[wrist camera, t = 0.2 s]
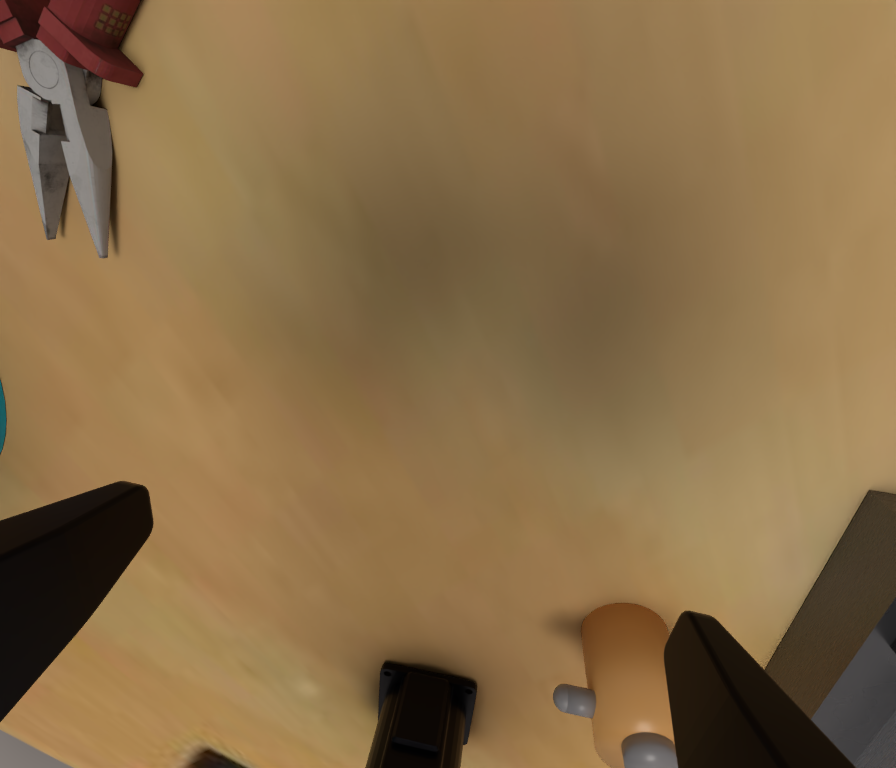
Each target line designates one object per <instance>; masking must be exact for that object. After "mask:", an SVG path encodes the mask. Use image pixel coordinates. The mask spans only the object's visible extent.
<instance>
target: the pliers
mask: <svg viewBox="0 0 896 768" xmlns="http://www.w3.org/2000/svg"><path fill="white" fill-rule="evenodd" d="M140 1H141V0H0V48H3V49H7V50H11V51H15V52H17V54H18V57H19V61H20V65H21V69H22V73H23V76H24V78H25V80H26V82H27V83H28V85H29V86H30V87H25V86H19V85H17V100H18V112H19V120H20V128H21V133H22V137H23V141H24V146H25V150H26V154H27V158H28V162H29V167H30V171H31V175H32V179H33V183H34V188H35V192H36V196H37V200H38V204H39V209H40V213H41V217H42V221H43V226H44V230H45V234H46V238H47V240H50V239H56V234H57V229H58V225H59V220H60V215H61V211H62V206H63V202H64V197H65V192H66V188H67V183H68V179H69V175H70V178H71V181H72V184H73V186H74V189H75V192H76V195H77V197H78V200H79V203H80V206H81V208H82V211H83V214H84V216H85V219H86V222H87V225H88V227H89V230H90V233H91V236H92V238H93V241H94V244H95V247H96V249H97V252H98V255H99V258H107V257H108V240H109V218H110V196H111V174H112V141H111V131H110V122H109V117H108V112H107V109H103V108H98V107H94V106H90V105H92V104H94V103H95V102H96V101H97V100H98V98H99V96H100V92H101V83H102V78H103V79H106V80H108V81H112V82H116V83H120V84H124V85H128V86H132V87H137V86H138V84H139V82H140V80H141V78H142V76H143V73H142V72H141V71H140V70H139V69H138V68H137V67H136V66H135V65H134V64H133V63H132V62H131V61H130V60H129V59H128V58H127V57H126V56H125V55H124V54H123V53H122V52H121V51H120V50H119V49H118V47H119V45H120V43H121V41H122V39H123V36H124V34H125V32H126V30H127V28H128V26H129V24H130V22H131V20H132V18H133V15H134V13H135V11H136V9H137V7H138V5H139V3H140ZM61 114H62V118H63V123H64V125H63V123H62V118H61Z"/></svg>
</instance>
